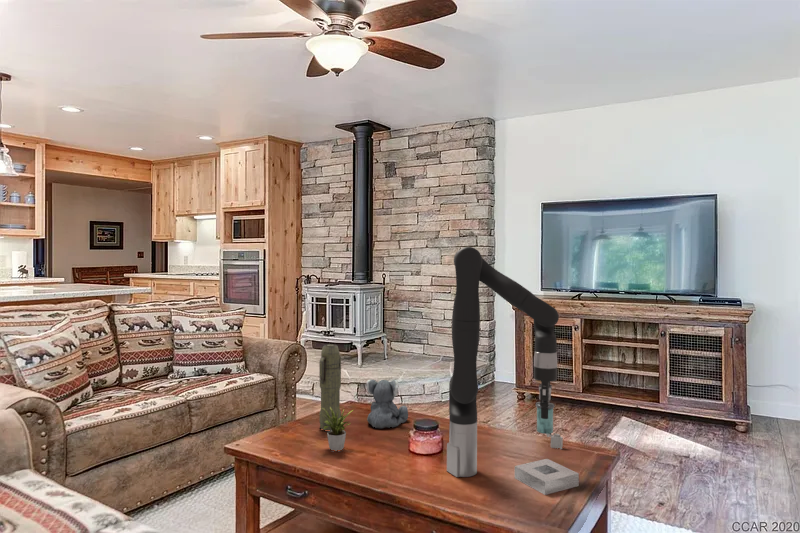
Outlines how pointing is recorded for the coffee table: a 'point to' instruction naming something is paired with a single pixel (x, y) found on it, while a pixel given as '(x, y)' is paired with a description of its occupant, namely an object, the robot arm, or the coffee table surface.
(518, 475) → the bore housing
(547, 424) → the cover plug
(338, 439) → the house plant
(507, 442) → the coffee table surface
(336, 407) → the thermos
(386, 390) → the koala plush
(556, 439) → the lighter
